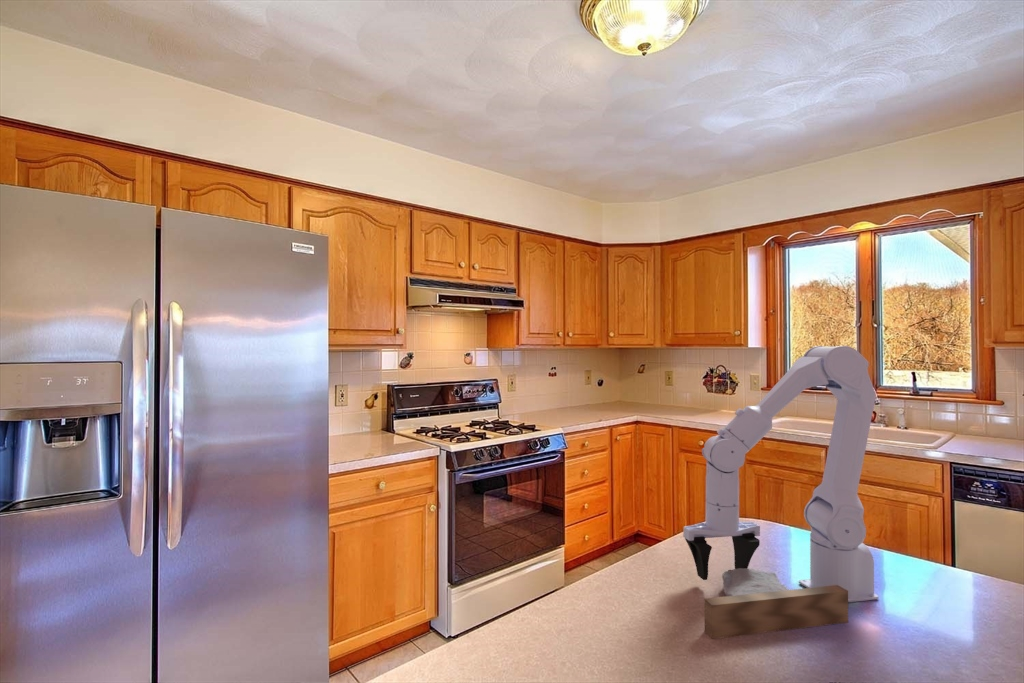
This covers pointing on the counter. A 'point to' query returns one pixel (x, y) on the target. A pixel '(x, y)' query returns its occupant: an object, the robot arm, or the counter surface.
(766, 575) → the stone block
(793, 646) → the counter surface
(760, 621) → the walnut wall
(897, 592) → the counter surface
